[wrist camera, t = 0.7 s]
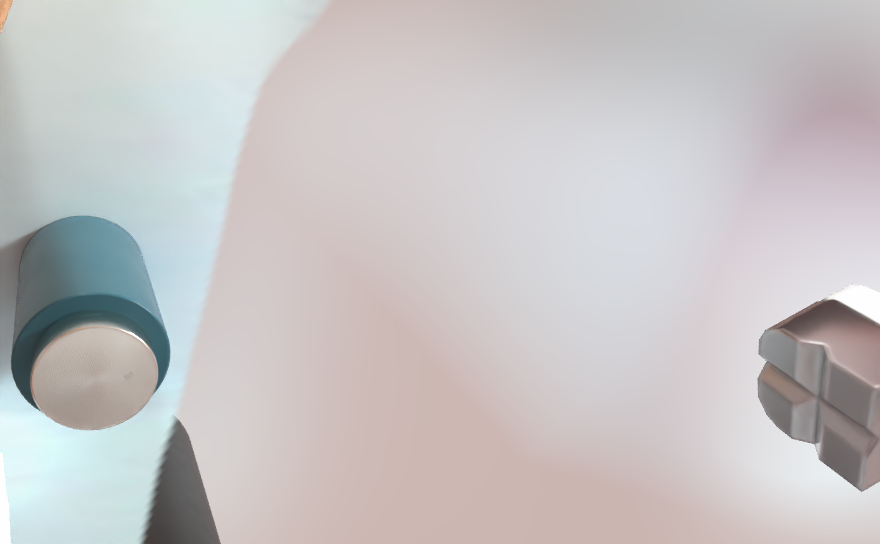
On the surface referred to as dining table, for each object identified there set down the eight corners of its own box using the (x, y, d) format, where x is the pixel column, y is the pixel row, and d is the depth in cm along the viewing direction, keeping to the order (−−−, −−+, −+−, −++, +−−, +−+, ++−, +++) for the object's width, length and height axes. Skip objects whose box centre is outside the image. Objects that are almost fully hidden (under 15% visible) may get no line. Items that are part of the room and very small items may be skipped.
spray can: (166, 253, 36) (206, 353, 27) (101, 339, 37) (119, 467, 27) (64, 193, 34) (70, 282, 24) (-6, 286, 34) (-26, 409, 25)
